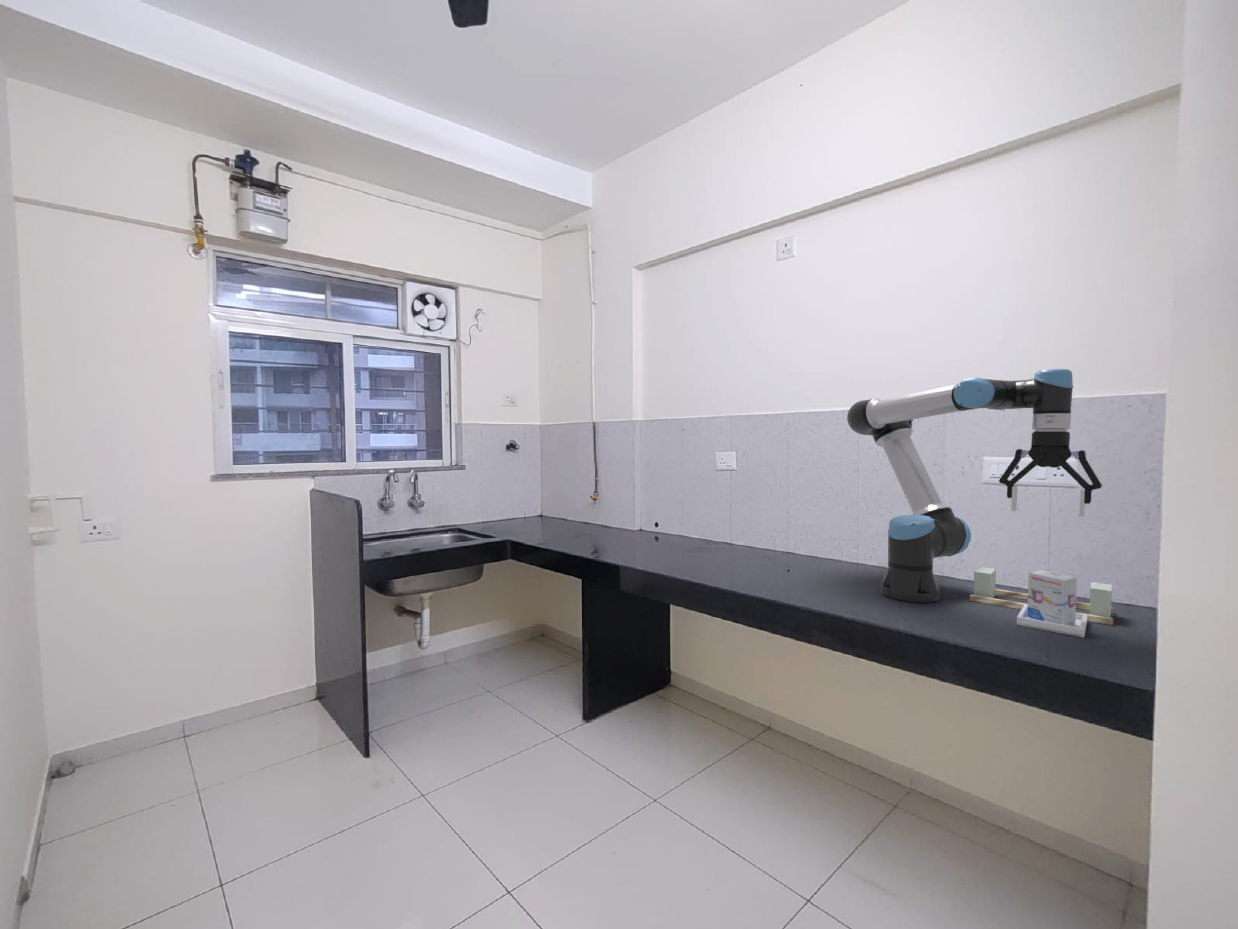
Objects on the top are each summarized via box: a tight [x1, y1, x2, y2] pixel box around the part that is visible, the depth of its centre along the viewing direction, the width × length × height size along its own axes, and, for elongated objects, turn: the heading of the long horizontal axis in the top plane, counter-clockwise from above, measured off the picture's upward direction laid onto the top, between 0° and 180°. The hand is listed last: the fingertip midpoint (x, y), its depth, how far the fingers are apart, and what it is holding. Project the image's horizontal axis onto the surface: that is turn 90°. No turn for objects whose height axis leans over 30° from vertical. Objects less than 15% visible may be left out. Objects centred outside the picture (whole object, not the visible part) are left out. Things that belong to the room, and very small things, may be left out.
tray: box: [1016, 603, 1089, 639], centre depth 132 cm, size 13×15×2 cm
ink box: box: [1027, 569, 1078, 626], centre depth 132 cm, size 9×5×12 cm, turn 21°
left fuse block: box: [973, 566, 997, 598], centre depth 154 cm, size 4×8×8 cm, turn 136°
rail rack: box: [969, 588, 1114, 626], centre depth 145 cm, size 30×13×2 cm, turn 46°
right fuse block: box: [1088, 581, 1113, 618], centre depth 137 cm, size 4×8×8 cm, turn 136°
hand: (1046, 513), depth 135 cm, fingers open, 13 cm apart
